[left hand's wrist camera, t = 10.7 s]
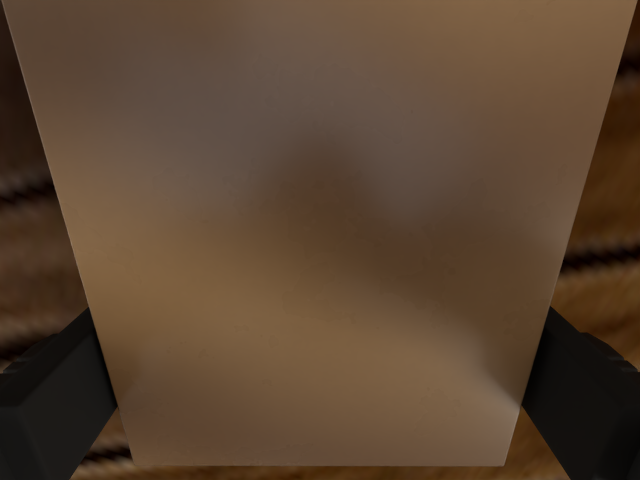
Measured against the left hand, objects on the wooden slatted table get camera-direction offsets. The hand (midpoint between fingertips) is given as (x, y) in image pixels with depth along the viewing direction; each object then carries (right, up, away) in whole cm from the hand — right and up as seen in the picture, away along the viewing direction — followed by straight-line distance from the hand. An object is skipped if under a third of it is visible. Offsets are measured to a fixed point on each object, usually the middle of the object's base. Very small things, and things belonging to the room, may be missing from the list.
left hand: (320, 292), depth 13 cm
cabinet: (0, +8, +1) cm, 8 cm away
